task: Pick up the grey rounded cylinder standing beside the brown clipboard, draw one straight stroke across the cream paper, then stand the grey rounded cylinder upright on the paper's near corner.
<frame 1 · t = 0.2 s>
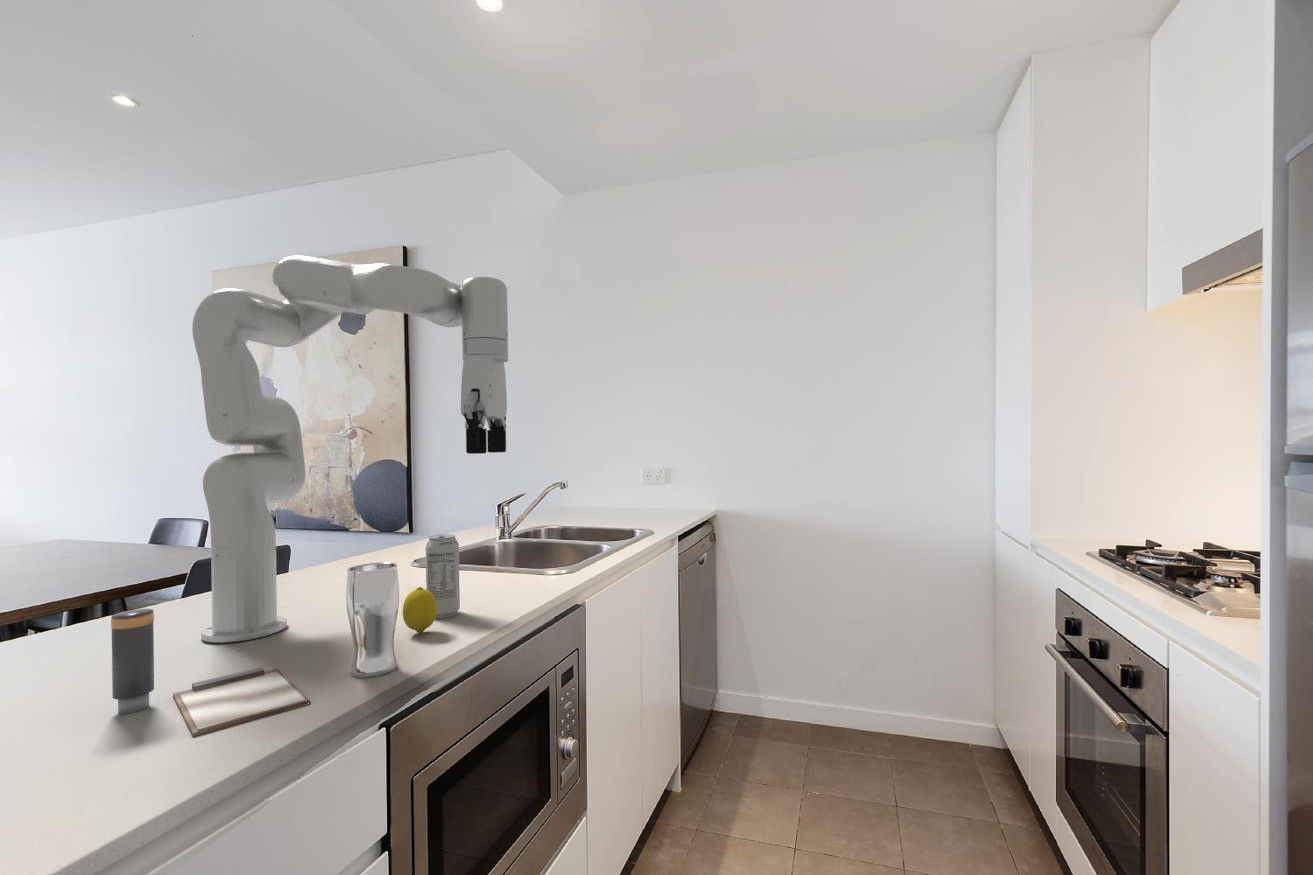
hand: (487, 452, 104), 31 cm above the countertop, tool pointing down, fingers open, 9 cm apart
energy drink can: (443, 615, 117), on the countertop
clipboard: (240, 699, 79), on the countertop
grey rounded cylinder: (133, 708, 77), on the countertop
lemon: (420, 634, 106), on the countertop
beer glass: (374, 671, 89), on the countertop
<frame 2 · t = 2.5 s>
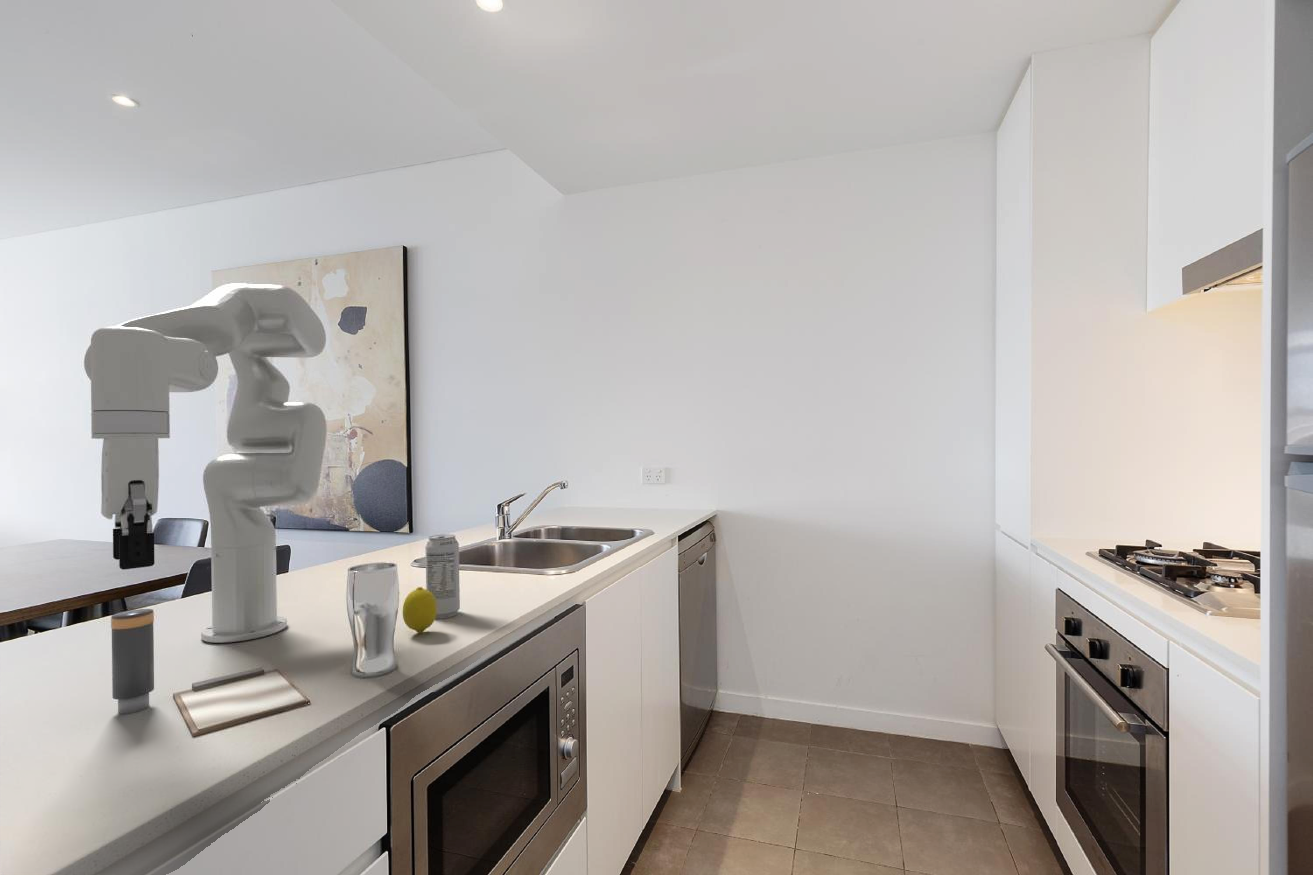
hand: (133, 562, 77), 18 cm above the countertop, tool pointing down, fingers open, 9 cm apart
nothing on the countertop moved.
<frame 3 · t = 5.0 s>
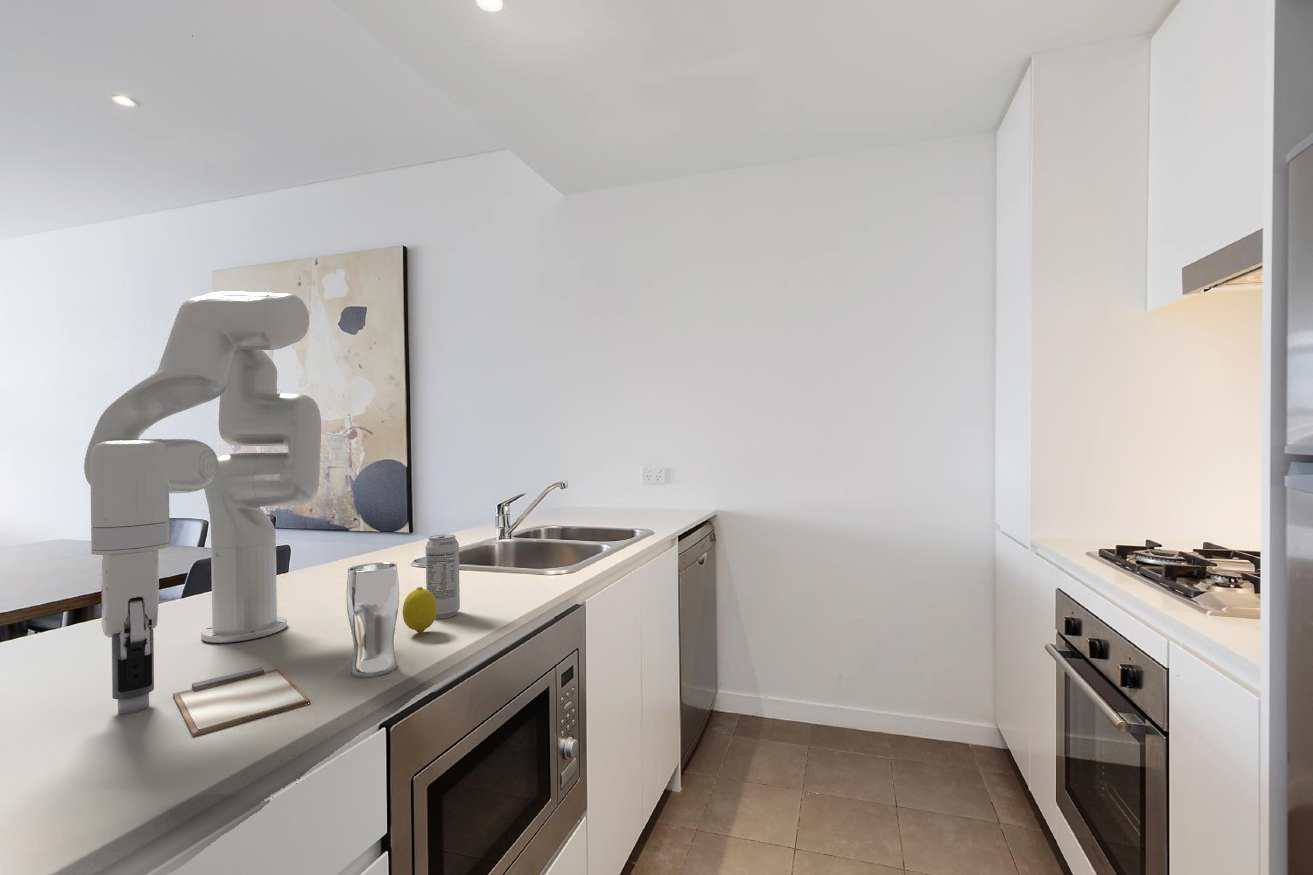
hand: (133, 682, 77), 3 cm above the countertop, tool pointing down, fingers closed on grey rounded cylinder, 4 cm apart
grey rounded cylinder: (133, 708, 77), on the countertop, touching gripper
everything else where it was.
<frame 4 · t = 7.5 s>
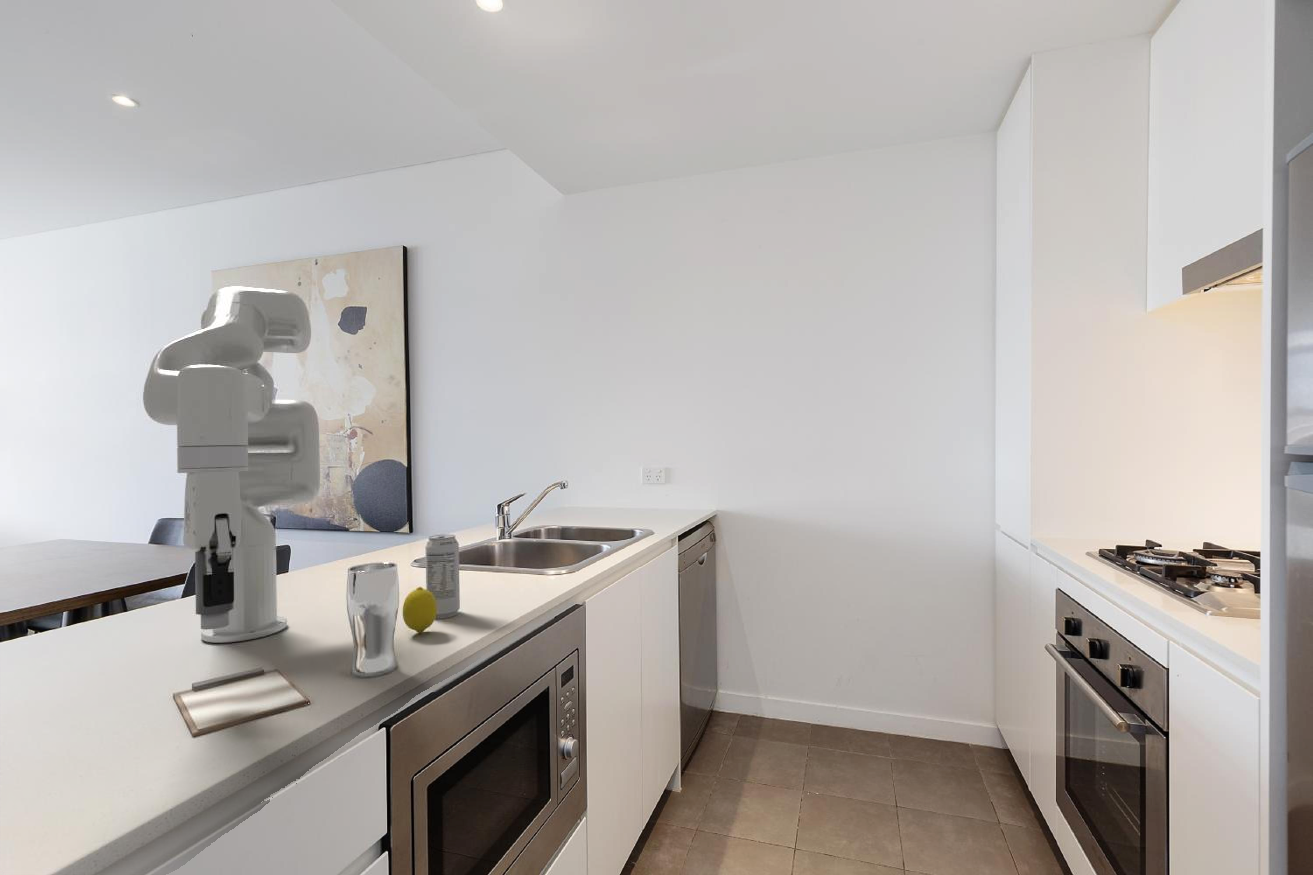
hand: (215, 600, 80), 13 cm above the countertop, tool pointing down, fingers closed on grey rounded cylinder, 4 cm apart
grey rounded cylinder: (215, 626, 80), point 10 cm above the countertop, touching gripper
everything else where it was.
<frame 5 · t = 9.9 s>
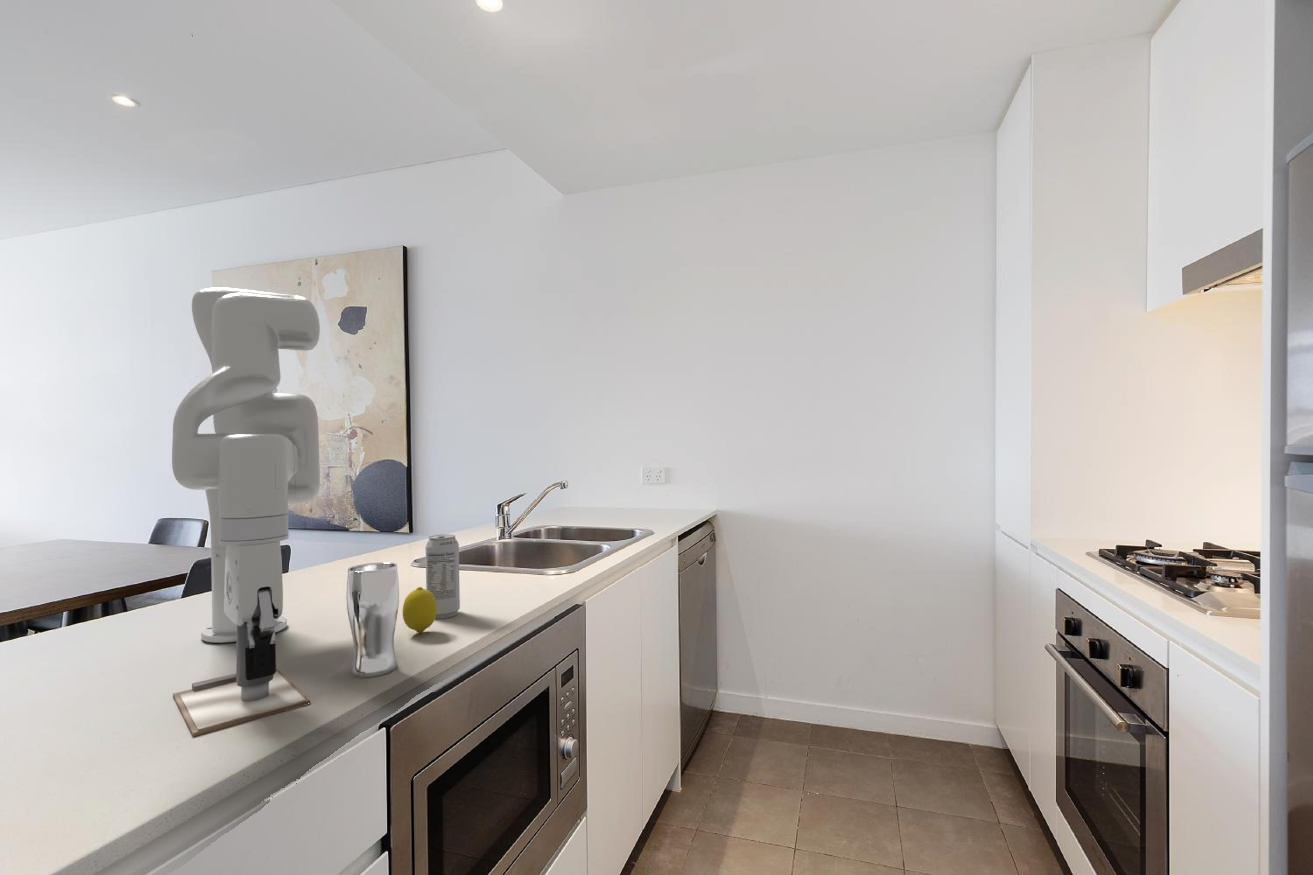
hand: (256, 670, 79), 4 cm above the countertop, tool pointing down, fingers closed on grey rounded cylinder, 4 cm apart
grey rounded cylinder: (255, 696, 79), point 1 cm above the countertop, touching gripper
everything else where it was.
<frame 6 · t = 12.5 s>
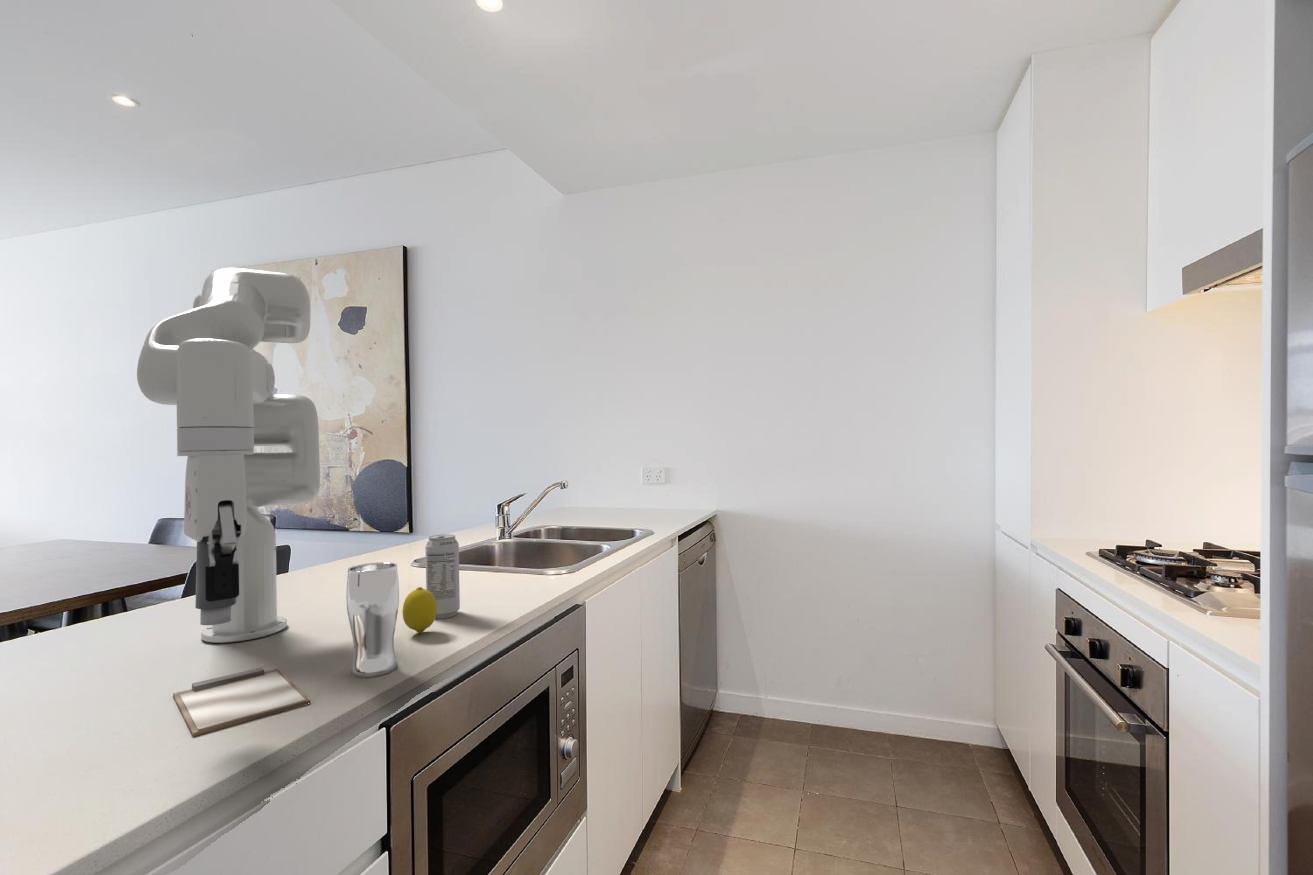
hand: (218, 594, 74), 15 cm above the countertop, tool pointing down, fingers closed on grey rounded cylinder, 3 cm apart
grey rounded cylinder: (215, 621, 73), point 12 cm above the countertop, touching gripper
everything else where it was.
when the fingers open (5 cm above the countertop, at t = 14.7 s): grey rounded cylinder stays where it is, resting on clipboard.
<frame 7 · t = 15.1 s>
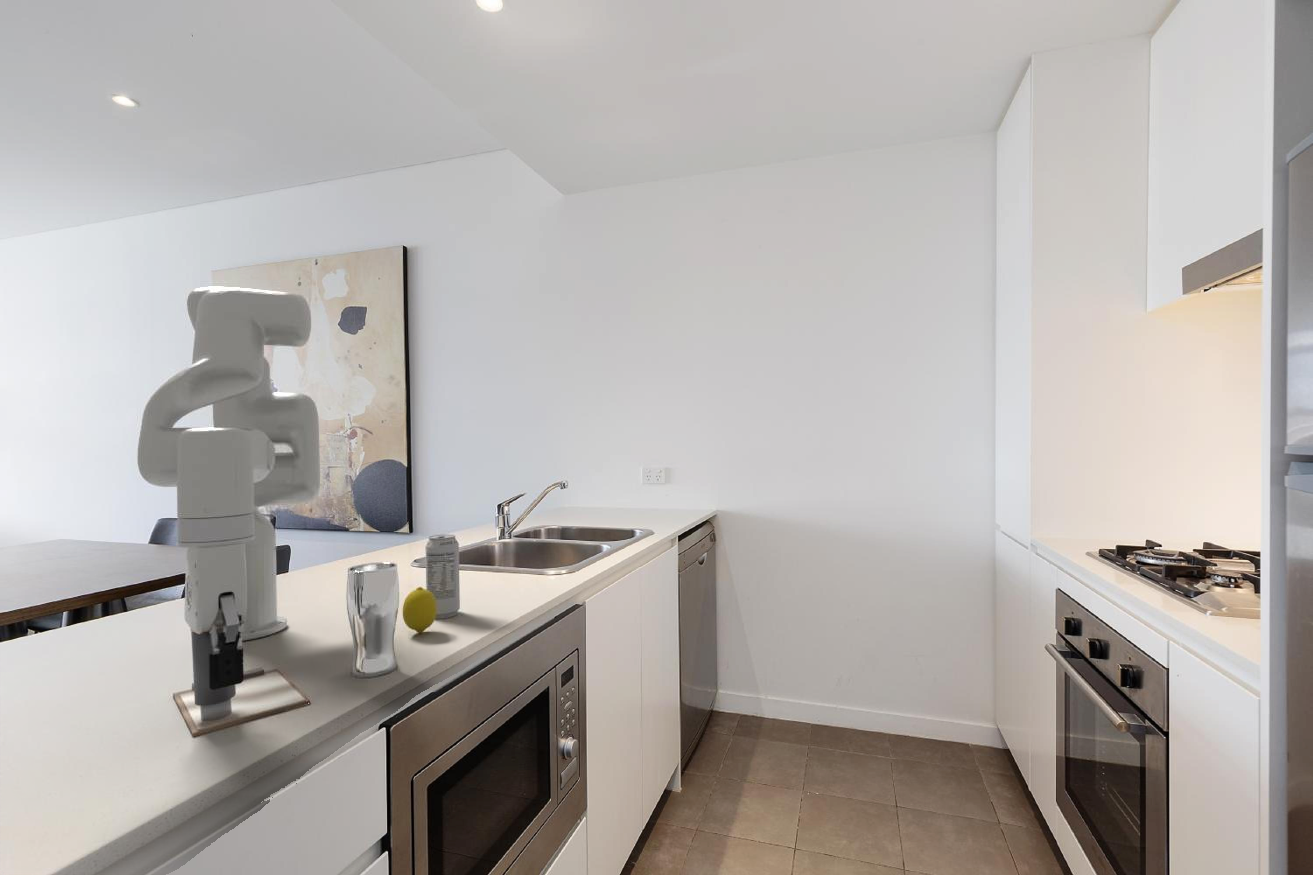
hand: (219, 675, 74), 5 cm above the countertop, tool pointing down, fingers open, 8 cm apart
grey rounded cylinder: (216, 714, 73), point 1 cm above the countertop, touching clipboard
everything else where it was.
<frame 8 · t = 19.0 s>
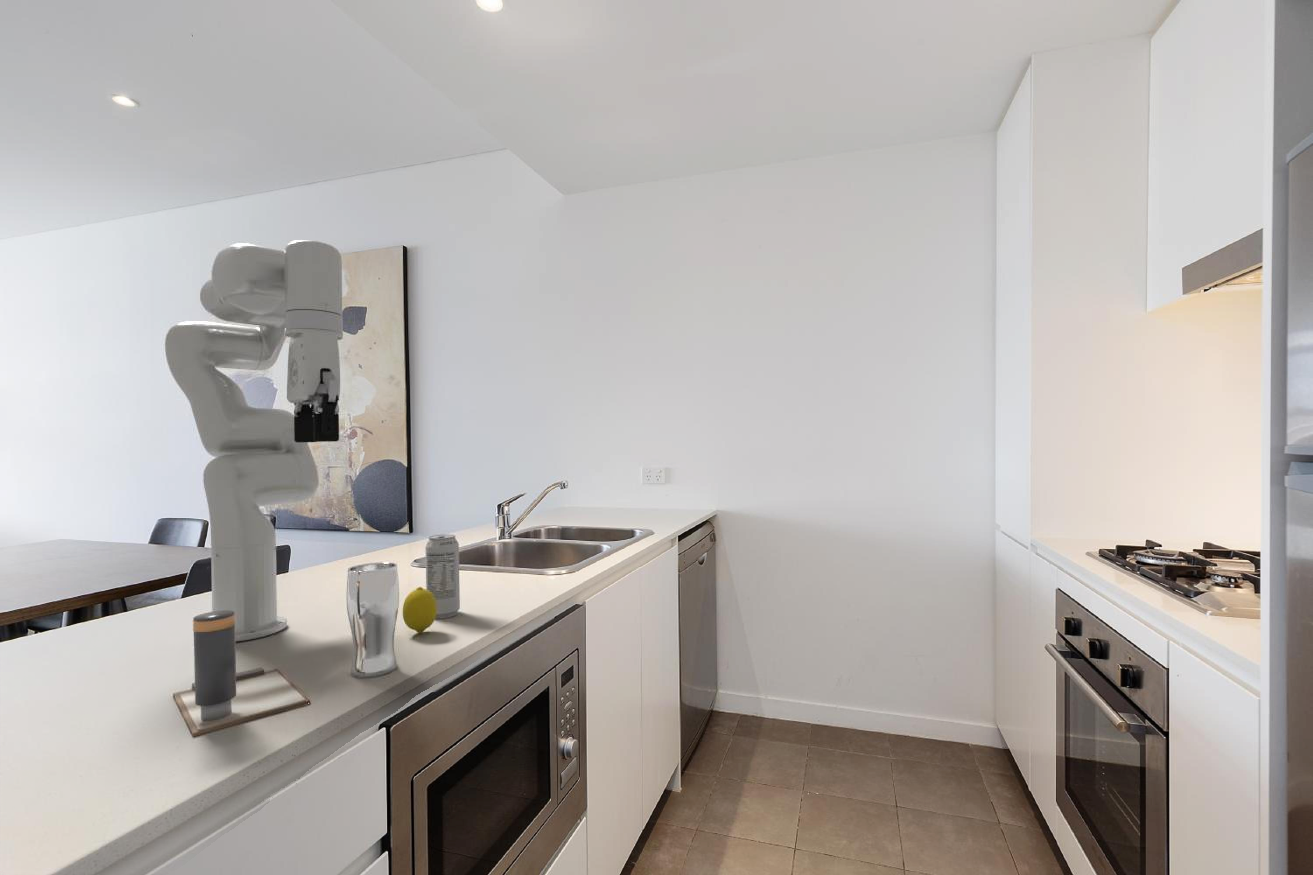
hand: (316, 441, 91), 33 cm above the countertop, tool pointing down, fingers open, 9 cm apart
nothing on the countertop moved.
at the end: grey rounded cylinder inside the target area (0.3 cm from its centre), point 0.6 cm above the countertop; grey rounded cylinder tilted 0°; the gripper is holding nothing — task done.
